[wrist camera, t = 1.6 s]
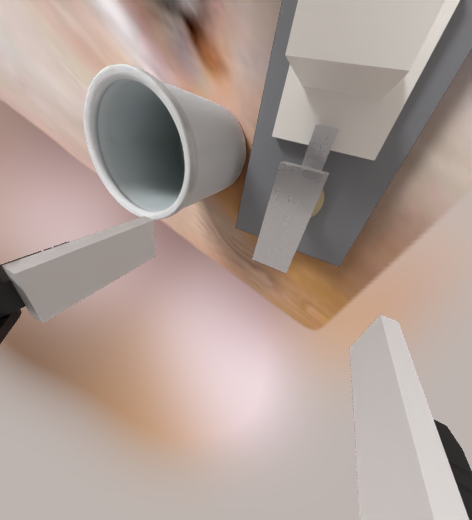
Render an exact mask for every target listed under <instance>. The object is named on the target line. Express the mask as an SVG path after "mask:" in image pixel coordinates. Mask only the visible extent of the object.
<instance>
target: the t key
mask: <svg viewBox="0 0 472 520" xmlns="http://www.w3.org/2000/svg"><path fill="white" fill-rule="evenodd" d="M338 130H339V129H337V128H332V127H327V126H322V125H317V124H316V125H315V128H314V131H313V134H312V137H311V140H310V142H309V145H308V148H307V151H306V154H305V157H304V160H303V163H302V165H298V164H295V163H291V162H287V161H283V162H280V164H279V167H278V171H277V174H276V178H275V181H274V185H273V188H272V192H271V195H270V199H269V202H268V206H267V209H266V213H265V216H264V220H263V223H262V227H261V230H260V234H259V237H258V241H257V244H256V248H255V251H254V254H253V258H252V260H255V261H257V262H260V263H262V264H264V265H267V266H269V267H272V268H274V269H277V270H279V271H281V272H284V273H287V271H288V268H289V266H290V264H291V261H292V259H293V257H294V254H295V252H296V250H297V247H298V245H299V243H300V240H301V238H302V236H303V233H304V231H305V229H306V226H307V224H308V222H309V219H310V217H311V215H312V212H313V210H314V208H315V205H316V203H317V201H318V198H319V196H320V194H321V191H322V189H323V187H324V184H325V182H326V180H327V177H328V175H329V172H325V171H322V169H323V167H324V164H325V162H326V159H327V157H328V154H329V152H330V149H331V147H332V145H333V142H334V140H335V137H336V135H337V132H338Z"/></svg>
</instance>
